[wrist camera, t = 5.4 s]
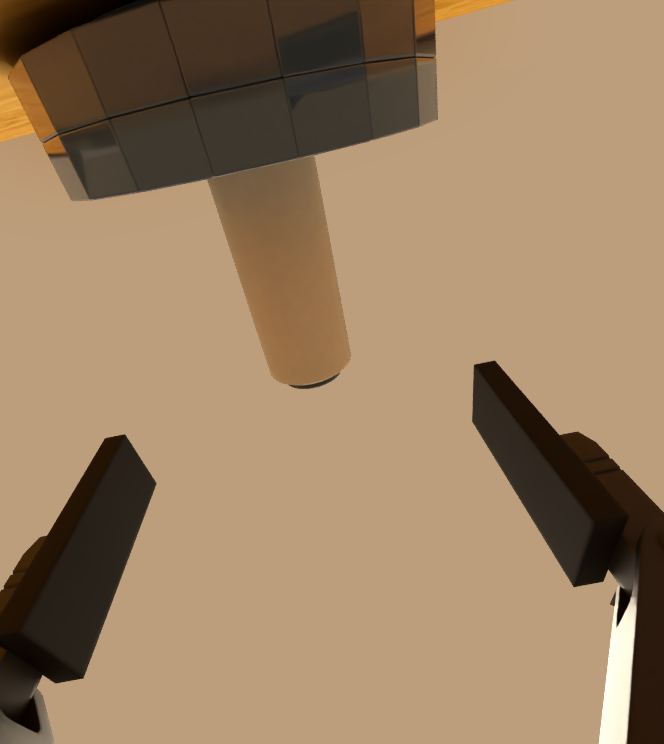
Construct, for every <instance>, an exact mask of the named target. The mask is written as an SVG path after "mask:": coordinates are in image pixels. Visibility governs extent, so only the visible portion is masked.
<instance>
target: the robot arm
mask: <svg viewBox="0 0 664 744" xmlns="http://www.w3.org/2000/svg"><path fill="white" fill-rule="evenodd" d="M472 422H473V423H474V425H475V427H476V428H477V430H478V432H479V433H480V435H481V437H482V438H483V440H484V441H485V443H486V445H487V446H488V448H489V450H490V451H491V453H492V454H493V456H494V458H495V459H496V461H497V462H498V464H499V466H500V468H501V469H502V471H503V472H504V474H505V476H506V477H507V479H508V481H509V482H510V484H511V485H512V487H513V489H514V490H515V492H516V494H517V495H518V497H519V499H520V500H521V502H522V503H523V505H524V506H525V508H526V510H527V512H528V513H529V515H530V516H531V518H532V520H533V521H534V523H535V524H536V526H537V528H538V530H539V531H540V533H541V534H542V536H543V538H544V539H545V541H546V543H547V544H548V546H549V547H550V549H551V550H552V552H553V554H554V556H555V557H556V559H557V560H558V562H559V564H560V565H561V567H562V568H563V570H564V572H565V574H566V575H567V577H568V578H569V580H570V582H571V583H572V585H573V587H577V586H582V585H588V584H593V583H598V582H603V581H604V578H605V576H606V573H607V571H608V569H609V571H610V572H611V573H612V575H613V576H614V578H615V579H616V581H617V582H618V583H619V585H618V587H617V589H616V592H615V594H614V596H613V598H612V601H611V603H610V605H613V606H615V608H614V616H613V625H612V634H611V643H610V652H609V660H608V669H607V678H606V687H605V695H604V705H603V713H602V722H601V731H600V740H599V744H664V512H663V511H662V510H661V509H659V507H658V506H657V505H656V504H655V503H654V502H653V501H652V500H651V499H650V498H649V497H648V496H647V495H646V494H645V493H644V492H643V491H642V490H641V488H640V487H639V486H637V485H636V483H635V482H634V481H633V480H632V479H631V478H630V477H629V476H628V475H627V474H626V473H625V472H624V471H623V470H621V469H620V467H619V466H618V465H617V464H616V463H615V461H614V460H613V459H610V458H609V455H608V454H607V453H606V452H605V451H604V450H603V449H602V448H601V447H600V446H599V445H598V444H597V443H596V442H595V441H593V440H591V439H590V438H588V437H586V436H584V435H583V434H581V433H579V432H573V433H568V434H563V435H559V434H558V433H557V432H556V431H555V429H554V428H553V427H552V426H551V425H550V424H549V423H548V421H547V420H546V419H545V418H544V417H543V416H542V414H541V413H539V411H538V410H537V409H536V408H535V406H534V405H533V404H532V403H531V402H530V401H529V400H528V398H527V397H526V396H525V395H524V394H523V393H522V391H521V390H520V389H519V388H518V387H517V386H516V385H515V383H514V382H513V381H512V380H511V379H510V378H509V376H507V374H506V373H505V372H504V371H503V370H502V368H501V367H500V366H499V365H498V364H497V363H496V361H491V362H486V363H481V364H476V365H474V381H473V416H472ZM155 486H156V482H155V480H154V479H153V477H152V476H151V474H150V472H149V471H148V469H147V468H146V466H145V465H144V464H143V462H142V460H141V458H140V457H139V455H138V454H137V452H136V451H135V449H134V448H133V446H132V444H131V443H130V441H129V440H128V438H127V437H126V435H119V436H114V437H109V438H105V439H104V441H103V443H102V445H101V446H100V448H99V449H98V451H97V453H96V455H95V456H94V458H93V460H92V461H91V463H90V465H89V466H88V468H87V470H86V471H85V473H84V475H83V476H82V478H81V480H80V482H79V483H78V485H77V487H76V488H75V490H74V492H73V493H72V495H71V497H70V498H69V500H68V502H67V504H66V505H65V507H64V508H63V510H62V512H61V513H60V515H59V517H58V518H57V520H56V522H55V523H54V525H53V527H52V529H51V530H50V532H49V534H48V535H47V536H43V537H40V538H39V539H38V540H37V541H36V542H35V543H34V544H33V545H32V546H31V547H30V548H29V549H28V550H27V551H26V552H25V553H24V555H23V556H22V558H21V560H20V561H19V562H18V564H17V566H16V567H15V569H14V570H13V575H11V576H10V577H9V579H8V580H7V582H6V583H5V585H4V589H3V590H1V592H0V744H55V742H54V739H53V734H52V730H51V727H50V723H49V719H48V715H47V711H46V707H45V703H44V699H43V695H42V694H41V692H40V691H39V690H38V689H37V686H38V684H39V682H40V679H41V677H42V675H44V676H45V677H47V678H48V679H50V680H51V681H53V682H54V683H61V682H66V681H71V680H77V679H82V678H84V675H85V672H86V670H87V667H88V664H89V662H90V659H91V657H92V654H93V651H94V649H95V646H96V643H97V641H98V638H99V635H100V633H101V630H102V627H103V625H104V622H105V619H106V617H107V614H108V611H109V609H110V606H111V603H112V601H113V598H114V595H115V593H116V590H117V587H118V585H119V582H120V579H121V577H122V574H123V571H124V569H125V566H126V563H127V561H128V558H129V556H130V553H131V550H132V548H133V545H134V542H135V540H136V537H137V534H138V532H139V529H140V526H141V524H142V521H143V518H144V516H145V513H146V510H147V507H148V505H149V502H150V499H151V497H152V494H153V491H154V489H155Z"/></svg>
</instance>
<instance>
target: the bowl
mask: <svg viewBox="0 0 664 744" xmlns="http://www.w3.org/2000/svg"><path fill="white" fill-rule="evenodd" d="M435 56H436V40H435V3H434V0H138V1H135V2H132V3H129V4H126V5H124V6H122V7H119V8H117V9H114V10H112V11H109V12H107V13H105V14H103V15H101V16H99V17H97V18H95V19H93V20H91V21H89V22H88V23H86V24H83V25H80V26H77V27H74V28H73V29H69V30H67V31H65V32H63V33H62V34H60V35H58V36H56V37H54V38H52V39H50V40H49V41H47V42H45V43H43V44H41V45H39V46H37V47H36V48H34V49H32V50H30V51H28V52H26V53H24V54H23V55H21V57H20V58H19V60H18V61H17V63H16V64H15V66H14V68H13V69H12V71H11V72H10V74H9V76H8V79H9V81H10V83H11V85H12V87H13V89H14V91H15V93H16V95H17V97H18V99H19V100H20V102H21V104H22V106H23V108H24V110H25V112H26V114H27V116H28V118H29V120H30V122H31V124H32V126H33V128H34V130H35V131H36V133H37V135H38V137H39V139H40V141H41V142H42V143H43V147H44V149H45V151H46V153H47V155H48V156H49V158H50V160H51V162H52V164H53V166H54V168H55V170H56V172H57V174H58V176H59V178H60V180H61V182H62V184H63V186H64V187H65V189H66V191H67V193H68V195H69V197H70V199H71V200H72V201H87V200H97V199H103V198H109V197H115V196H121V195H127V194H134V193H140V192H145V191H150V190H156V189H161V188H166V187H171V186H176V185H181V184H186V183H190V182H196V181H201V180H205V179H211V178H214V177H220V176H225V175H229V174H234V173H238V172H243V171H247V170H252V169H256V168H261V167H265V166H270V165H274V164H278V163H283V162H287V161H292V160H296V159H301V158H305V157H309V156H313V155H317V154H321V153H325V152H329V151H333V150H336V149H341V148H345V147H348V146H353V145H357V144H360V143H365V142H369V141H372V140H375V139H379V138H383V137H386V136H390V135H393V134H397V133H400V132H404V131H407V130H410V129H414V128H417V127H420V126H423V125H425V124H427V123H430V122H432V121H435V120H437V119H438V111H437V77H436V76H437V75H436V58H435Z"/></svg>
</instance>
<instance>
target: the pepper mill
mask: <svg viewBox="0 0 664 744" xmlns="http://www.w3.org/2000/svg"><path fill="white" fill-rule="evenodd" d="M207 180H208V183H209V186H210V189H211V192H212V195H213V198H214V201H215V204H216V208H217V211H218V213H219V217H220V220H221V223H222V226H223V229H224V232H225V235H226V238H227V241H228V244H229V247H230V250H231V253H232V256H233V259H234V263H235V266H236V269H237V272H238V275H239V278H240V281H241V284H242V287H243V290H244V293H245V296H246V299H247V302H248V305H249V308H250V312H251V315H252V318H253V321H254V324H255V327H256V330H257V333H258V336H259V339H260V342H261V345H262V348H263V351H264V354H265V357H266V360H267V364H268V366H269V369H270V373H271V375H272V376H273V378H274V379H276V380H277V381H279V382H281V383H284V384H288V385H289V386H291V387H294V388H298V389H310V388H316V387H320V386H323V385H325V384H327V383H329V382H331V381H332V380H334V379H335V378H336V377H337V376H338V375H339V374H340V372H341V371H342V370H343V369H344V368H345V367H346V366H347V364H348V362H349V360H350V356H351V354H350V348H349V342H348V337H347V331H346V326H345V320H344V315H343V309H342V304H341V298H340V293H339V288H338V282H337V277H336V272H335V267H334V261H333V255H332V249H331V244H330V238H329V233H328V227H327V222H326V217H325V211H324V206H323V200H322V195H321V189H320V184H319V179H318V173H317V167H316V162H315V157H314V155H313V156H309V157H305V158H301V159H296V160H292V161H287V162H283V163H278V164H274V165H270V166H265V167H261V168H256V169H252V170H247V171H243V172H238V173H234V174H229V175H225V176H220V177H214V178H211V179H207Z"/></svg>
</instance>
